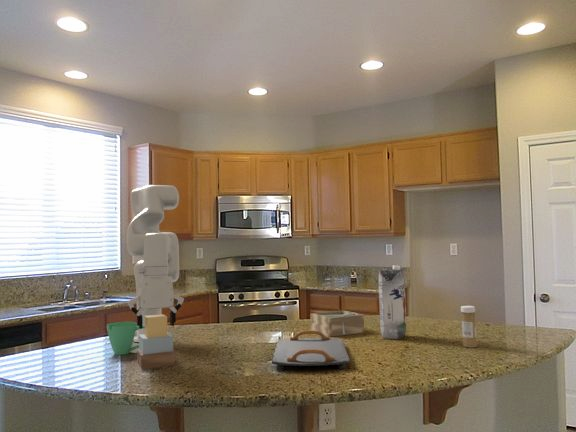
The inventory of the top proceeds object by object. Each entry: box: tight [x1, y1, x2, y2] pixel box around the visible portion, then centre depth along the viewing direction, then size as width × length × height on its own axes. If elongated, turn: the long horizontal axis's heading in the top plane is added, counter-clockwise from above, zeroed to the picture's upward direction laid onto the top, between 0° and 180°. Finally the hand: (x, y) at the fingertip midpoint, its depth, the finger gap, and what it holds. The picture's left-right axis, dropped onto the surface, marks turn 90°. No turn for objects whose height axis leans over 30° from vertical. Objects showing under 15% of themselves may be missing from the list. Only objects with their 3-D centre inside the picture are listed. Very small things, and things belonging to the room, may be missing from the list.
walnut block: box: [136, 348, 176, 370], centre depth 150 cm, size 10×10×4 cm
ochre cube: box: [145, 313, 168, 338], centre depth 151 cm, size 6×6×6 cm
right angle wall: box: [316, 312, 357, 334], centre depth 197 cm, size 12×12×8 cm
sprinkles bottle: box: [460, 305, 478, 348], centre depth 163 cm, size 5×5×13 cm
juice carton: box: [378, 265, 407, 340], centre depth 183 cm, size 9×10×27 cm
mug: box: [106, 321, 145, 356], centre depth 167 cm, size 15×10×10 cm
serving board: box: [271, 329, 351, 372], centre depth 154 cm, size 39×23×6 cm, turn 178°
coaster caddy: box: [309, 310, 365, 338], centre depth 197 cm, size 16×16×7 cm
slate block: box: [138, 331, 174, 355], centre depth 151 cm, size 9×9×4 cm
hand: (156, 326), depth 151 cm, fingers open, 9 cm apart
